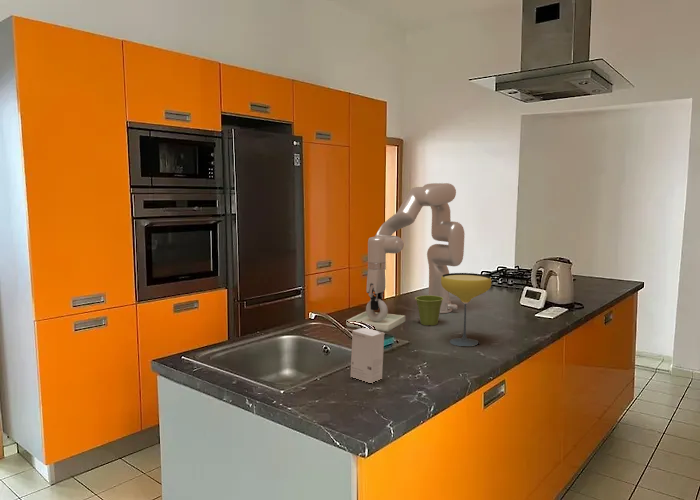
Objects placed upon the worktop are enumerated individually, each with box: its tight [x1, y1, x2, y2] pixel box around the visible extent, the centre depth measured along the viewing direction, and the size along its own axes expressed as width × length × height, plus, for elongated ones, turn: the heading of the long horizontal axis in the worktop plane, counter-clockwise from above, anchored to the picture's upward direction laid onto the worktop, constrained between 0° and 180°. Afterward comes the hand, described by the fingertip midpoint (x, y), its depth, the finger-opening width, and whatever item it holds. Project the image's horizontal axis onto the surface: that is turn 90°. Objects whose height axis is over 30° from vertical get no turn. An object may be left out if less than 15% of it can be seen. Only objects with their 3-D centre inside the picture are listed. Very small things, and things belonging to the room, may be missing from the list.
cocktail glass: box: [441, 272, 492, 347], centre depth 194 cm, size 18×18×25 cm
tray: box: [345, 310, 406, 332], centre depth 224 cm, size 19×19×2 cm
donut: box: [365, 299, 389, 322], centre depth 224 cm, size 10×3×10 cm, turn 62°
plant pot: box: [414, 294, 443, 327], centre depth 223 cm, size 12×12×11 cm
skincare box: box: [350, 328, 385, 384], centre depth 157 cm, size 8×6×15 cm
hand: (376, 308), depth 223 cm, fingers open, 3 cm apart
